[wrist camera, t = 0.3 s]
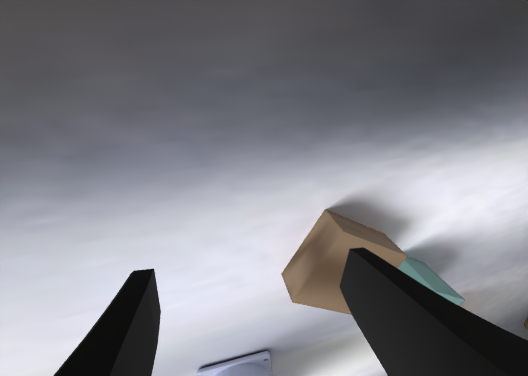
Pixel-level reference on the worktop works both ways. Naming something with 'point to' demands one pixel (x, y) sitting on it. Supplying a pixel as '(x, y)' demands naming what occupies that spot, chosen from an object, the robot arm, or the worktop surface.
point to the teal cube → (429, 279)
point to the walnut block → (332, 260)
